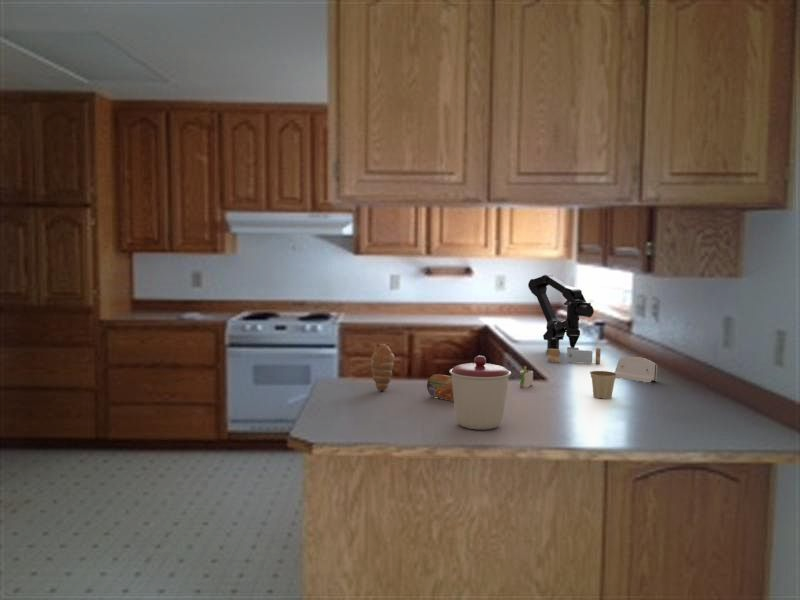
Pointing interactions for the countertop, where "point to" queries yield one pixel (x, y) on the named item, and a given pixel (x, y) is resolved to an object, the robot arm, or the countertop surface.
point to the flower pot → (603, 383)
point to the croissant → (382, 365)
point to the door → (579, 356)
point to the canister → (479, 393)
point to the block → (572, 348)
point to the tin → (440, 386)
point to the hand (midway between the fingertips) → (571, 347)
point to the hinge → (636, 369)
